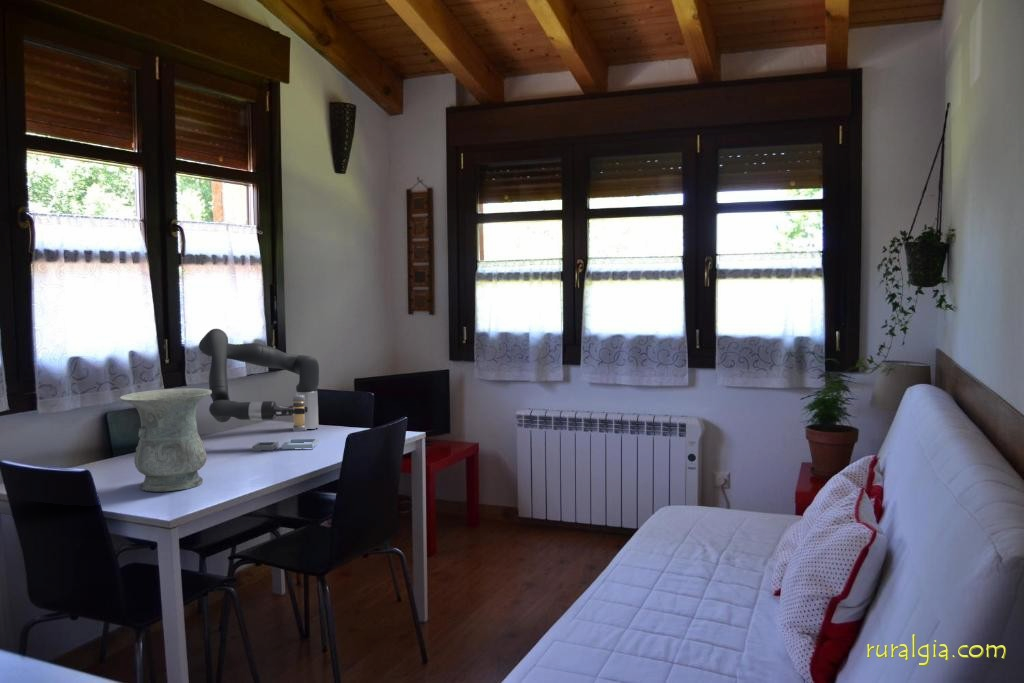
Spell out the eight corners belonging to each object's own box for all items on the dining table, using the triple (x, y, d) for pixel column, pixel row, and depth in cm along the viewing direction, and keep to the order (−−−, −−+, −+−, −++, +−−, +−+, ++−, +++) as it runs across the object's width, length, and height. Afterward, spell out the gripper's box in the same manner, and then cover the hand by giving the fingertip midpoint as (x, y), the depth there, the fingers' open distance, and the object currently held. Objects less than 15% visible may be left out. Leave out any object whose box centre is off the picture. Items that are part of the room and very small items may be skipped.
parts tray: (289, 444, 309) (289, 439, 309) (319, 443, 310) (318, 438, 310) (281, 450, 297) (281, 445, 297) (312, 449, 298) (312, 444, 298)
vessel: (112, 486, 245) (107, 393, 243) (195, 471, 264) (191, 385, 262) (142, 501, 226) (137, 401, 224) (229, 484, 244) (225, 392, 242)
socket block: (258, 447, 304) (258, 442, 304) (278, 446, 304) (278, 441, 304) (252, 451, 296) (252, 446, 296) (273, 450, 296) (273, 445, 296)
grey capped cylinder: (294, 429, 305) (294, 394, 304) (306, 429, 305) (305, 394, 304) (292, 431, 301) (291, 396, 300) (303, 431, 301) (303, 396, 300)
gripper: (257, 403, 295) (301, 403, 295) (267, 398, 309) (309, 398, 309) (257, 423, 295) (302, 422, 296) (267, 417, 309) (310, 416, 310)
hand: (305, 410), depth 303 cm, fingers closed on grey capped cylinder, 4 cm apart
